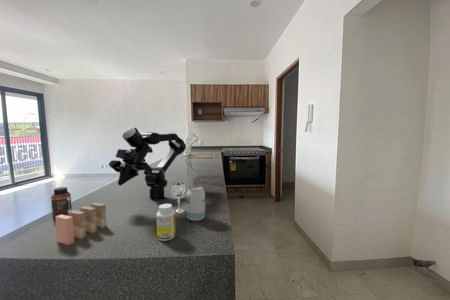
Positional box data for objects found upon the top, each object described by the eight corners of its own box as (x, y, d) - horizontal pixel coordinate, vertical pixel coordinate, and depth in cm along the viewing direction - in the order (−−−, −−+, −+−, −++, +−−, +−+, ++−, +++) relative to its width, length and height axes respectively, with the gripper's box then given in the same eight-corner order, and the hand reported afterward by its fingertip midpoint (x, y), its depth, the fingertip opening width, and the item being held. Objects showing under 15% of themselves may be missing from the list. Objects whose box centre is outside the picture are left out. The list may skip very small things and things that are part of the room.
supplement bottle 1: (75, 214, 78) (73, 187, 77) (57, 220, 73) (55, 191, 72) (66, 211, 81) (65, 185, 80) (49, 217, 75) (47, 189, 74)
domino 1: (63, 239, 60) (61, 214, 59) (74, 242, 58) (72, 216, 57) (57, 242, 58) (55, 216, 58) (68, 245, 57) (66, 219, 56)
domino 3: (86, 228, 67) (85, 206, 66) (96, 231, 65) (95, 208, 64) (81, 230, 65) (80, 207, 64) (92, 233, 63) (90, 209, 63)
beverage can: (205, 221, 72) (205, 190, 71) (186, 223, 70) (186, 191, 69) (204, 214, 78) (204, 185, 77) (187, 215, 77) (186, 186, 76)
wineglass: (188, 209, 83) (187, 182, 82) (181, 215, 78) (180, 185, 77) (176, 208, 85) (176, 181, 84) (169, 213, 79) (168, 184, 78)
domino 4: (96, 224, 70) (95, 202, 69) (106, 226, 68) (105, 204, 68) (92, 226, 68) (90, 204, 68) (102, 228, 67) (101, 205, 66)
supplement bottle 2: (169, 230, 65) (168, 201, 64) (178, 236, 62) (178, 205, 61) (153, 237, 61) (152, 206, 60) (163, 243, 57) (162, 210, 56)
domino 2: (75, 233, 63) (73, 210, 63) (86, 236, 62) (84, 212, 61) (70, 236, 62) (68, 212, 61) (80, 238, 60) (79, 214, 59)
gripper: (111, 141, 83) (87, 171, 73) (146, 142, 76) (125, 175, 67) (126, 157, 91) (106, 186, 81) (159, 159, 84) (142, 191, 75)
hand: (119, 184), depth 76 cm, fingers closed
